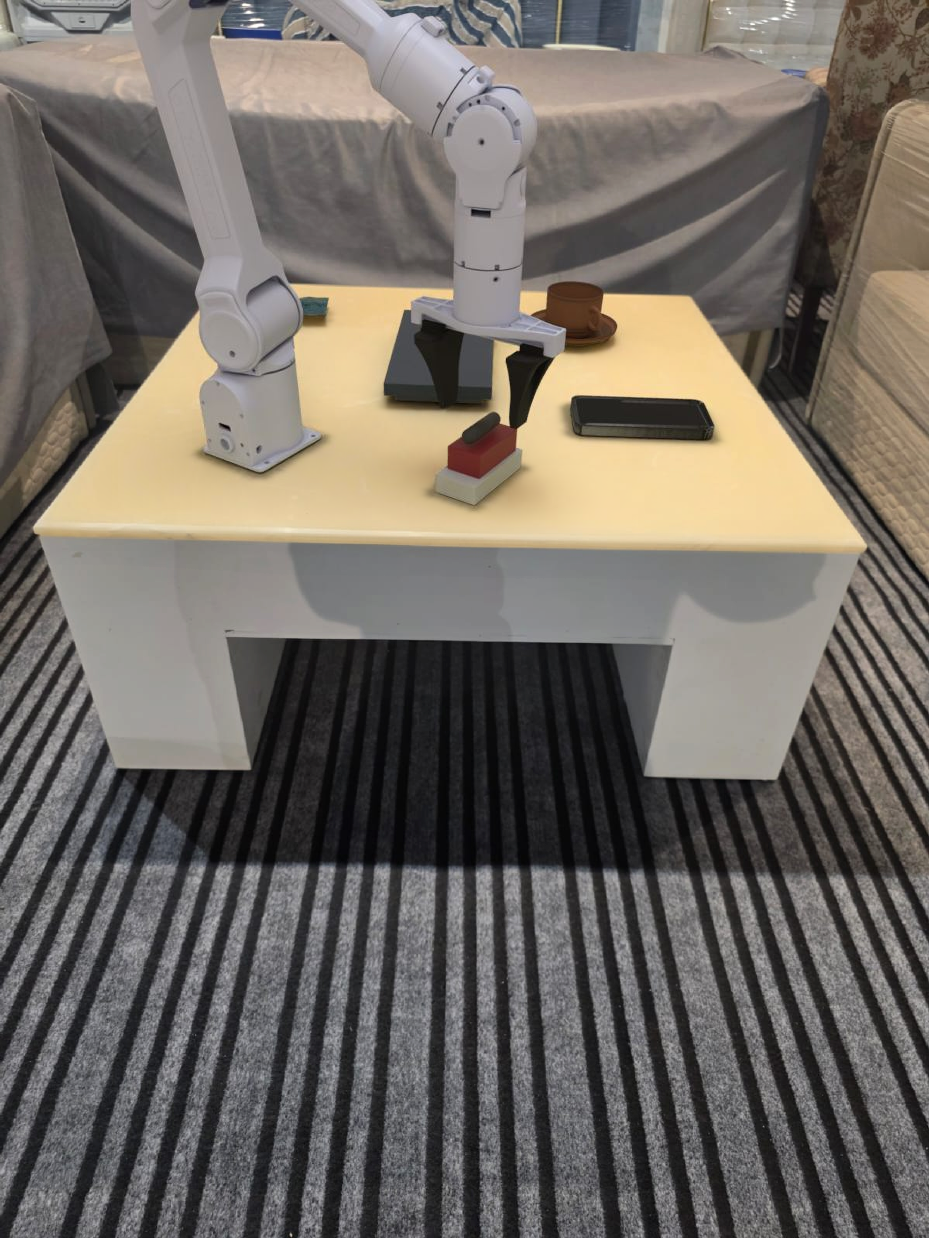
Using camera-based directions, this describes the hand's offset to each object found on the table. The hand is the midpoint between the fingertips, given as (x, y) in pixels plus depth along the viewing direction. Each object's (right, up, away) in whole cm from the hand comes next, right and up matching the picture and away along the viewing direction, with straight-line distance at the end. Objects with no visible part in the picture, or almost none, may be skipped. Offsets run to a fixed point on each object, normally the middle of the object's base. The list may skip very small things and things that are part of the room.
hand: (482, 414), depth 78 cm
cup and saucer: (+13, +19, +35) cm, 42 cm away
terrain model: (-27, +23, +38) cm, 52 cm away
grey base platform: (-4, +12, +25) cm, 28 cm away
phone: (+18, +3, +15) cm, 23 cm away
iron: (0, -5, +4) cm, 7 cm away
